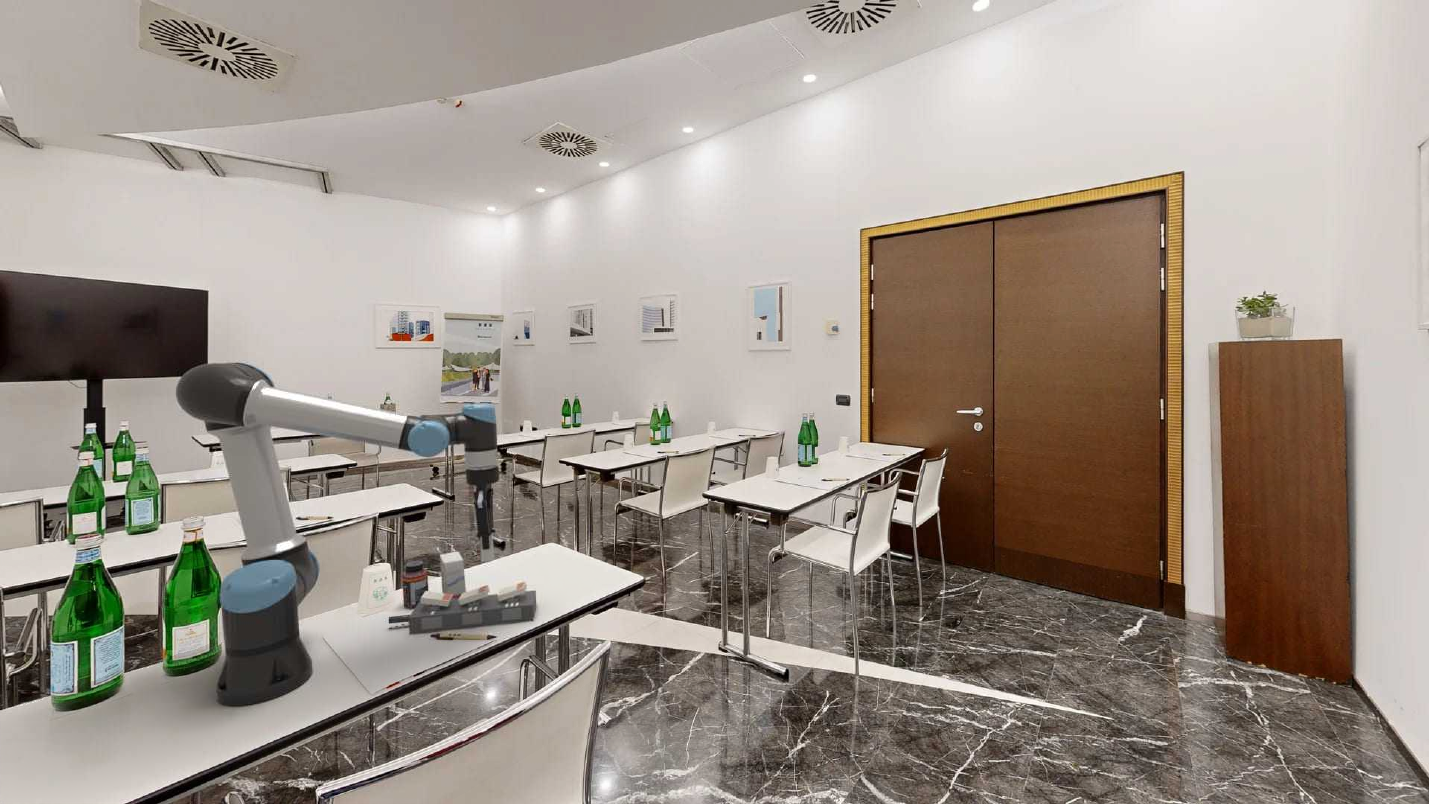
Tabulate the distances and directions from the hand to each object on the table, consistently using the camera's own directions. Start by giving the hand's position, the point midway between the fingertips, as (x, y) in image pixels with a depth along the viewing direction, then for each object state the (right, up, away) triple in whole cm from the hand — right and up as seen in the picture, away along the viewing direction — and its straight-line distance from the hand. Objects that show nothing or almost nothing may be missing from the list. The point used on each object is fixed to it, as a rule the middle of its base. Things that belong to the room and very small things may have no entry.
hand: (487, 560), depth 142 cm
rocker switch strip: (-6, -15, 0) cm, 16 cm away
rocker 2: (-3, -9, 0) cm, 10 cm away
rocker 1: (-12, -10, -2) cm, 15 cm away
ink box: (-14, -14, +12) cm, 23 cm away
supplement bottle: (-22, -14, +9) cm, 28 cm away
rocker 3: (+6, -9, +2) cm, 11 cm away
